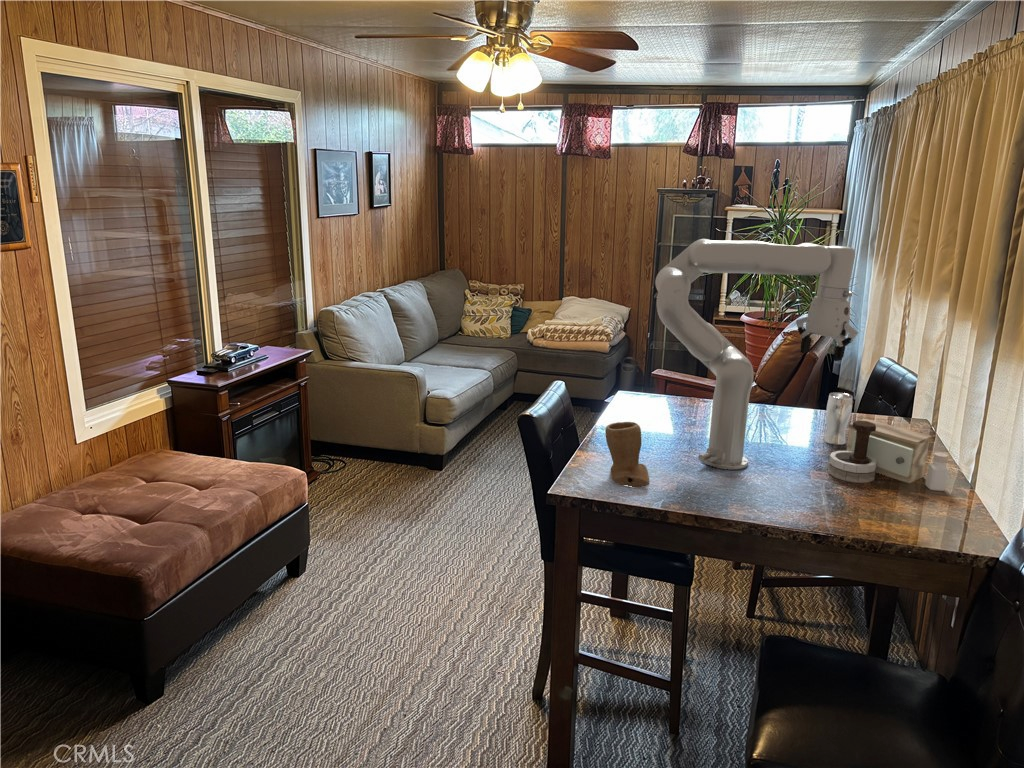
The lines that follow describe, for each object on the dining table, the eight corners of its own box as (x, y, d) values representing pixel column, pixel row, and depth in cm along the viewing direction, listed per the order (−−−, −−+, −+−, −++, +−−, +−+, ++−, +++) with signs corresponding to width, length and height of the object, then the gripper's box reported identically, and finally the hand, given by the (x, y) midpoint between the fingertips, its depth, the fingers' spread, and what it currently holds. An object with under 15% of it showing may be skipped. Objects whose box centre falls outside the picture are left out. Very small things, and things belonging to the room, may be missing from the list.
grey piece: (881, 484, 186) (885, 456, 184) (820, 461, 201) (824, 435, 199) (908, 476, 191) (913, 449, 189) (847, 454, 206) (851, 429, 204)
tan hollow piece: (603, 466, 202) (606, 415, 198) (646, 469, 200) (650, 417, 197) (602, 488, 187) (605, 433, 183) (649, 491, 186) (653, 435, 182)
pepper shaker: (924, 484, 193) (930, 451, 191) (940, 486, 193) (946, 452, 190) (929, 490, 190) (935, 456, 187) (946, 492, 189) (952, 457, 186)
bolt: (869, 480, 196) (878, 427, 192) (850, 478, 196) (857, 426, 193) (863, 472, 201) (871, 420, 197) (844, 470, 202) (851, 419, 198)
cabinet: (887, 495, 186) (894, 451, 183) (819, 472, 201) (825, 431, 197) (924, 476, 199) (932, 436, 196) (858, 456, 213) (864, 418, 210)
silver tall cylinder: (851, 444, 224) (858, 397, 220) (834, 446, 221) (841, 399, 217) (834, 437, 230) (840, 391, 226) (817, 439, 227) (823, 393, 223)
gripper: (871, 298, 188) (858, 362, 192) (810, 288, 201) (800, 348, 206) (855, 299, 184) (843, 365, 188) (795, 289, 197) (784, 350, 201)
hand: (820, 356), depth 197 cm, fingers open, 9 cm apart
